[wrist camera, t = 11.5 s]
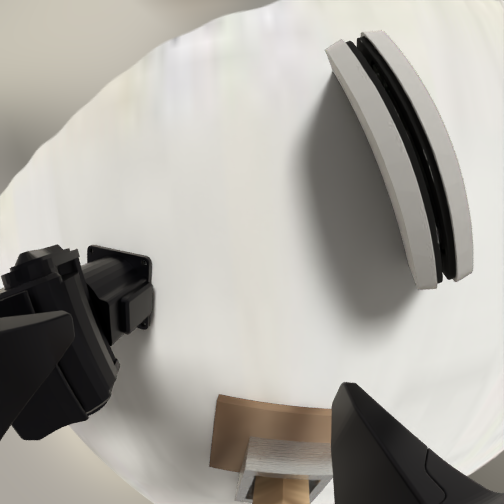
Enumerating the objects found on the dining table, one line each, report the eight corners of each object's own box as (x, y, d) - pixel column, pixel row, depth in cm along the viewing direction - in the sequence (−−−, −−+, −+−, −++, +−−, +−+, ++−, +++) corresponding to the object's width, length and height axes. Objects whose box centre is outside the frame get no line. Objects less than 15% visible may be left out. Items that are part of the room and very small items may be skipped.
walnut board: (210, 461, 26) (209, 466, 25) (219, 394, 23) (216, 401, 22) (319, 473, 25) (320, 478, 24) (359, 409, 22) (361, 416, 21)
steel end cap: (239, 472, 24) (234, 500, 20) (250, 436, 23) (245, 469, 18) (307, 478, 24) (308, 505, 19) (330, 443, 22) (334, 474, 18)
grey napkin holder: (454, 245, 18) (499, 300, 9) (406, 260, 20) (425, 325, 12) (383, 57, 15) (386, -7, 7) (333, 74, 18) (306, 19, 9)
